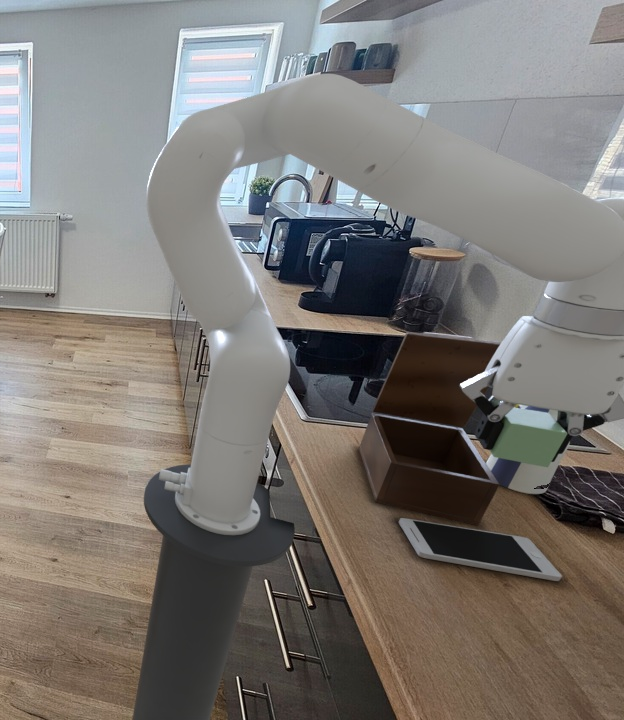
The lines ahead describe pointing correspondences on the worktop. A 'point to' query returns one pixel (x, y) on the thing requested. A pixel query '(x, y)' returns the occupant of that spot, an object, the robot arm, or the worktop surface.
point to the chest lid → (434, 377)
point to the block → (529, 437)
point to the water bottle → (524, 467)
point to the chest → (426, 468)
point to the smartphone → (478, 549)
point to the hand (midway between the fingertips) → (513, 448)
